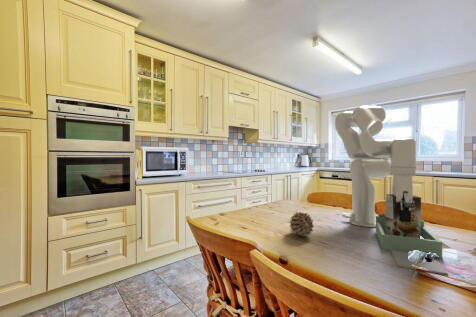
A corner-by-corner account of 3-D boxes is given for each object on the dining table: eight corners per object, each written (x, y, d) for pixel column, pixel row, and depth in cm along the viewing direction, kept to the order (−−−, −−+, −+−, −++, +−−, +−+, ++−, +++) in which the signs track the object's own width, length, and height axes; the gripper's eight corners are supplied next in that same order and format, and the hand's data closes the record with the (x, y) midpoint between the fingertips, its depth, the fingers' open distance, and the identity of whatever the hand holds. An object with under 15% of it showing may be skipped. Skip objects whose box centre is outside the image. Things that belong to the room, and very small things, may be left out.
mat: (397, 266, 64) (397, 264, 64) (391, 251, 75) (391, 249, 75) (448, 275, 59) (448, 273, 59) (433, 257, 70) (433, 256, 70)
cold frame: (381, 249, 77) (381, 225, 77) (375, 232, 95) (375, 213, 95) (442, 258, 70) (441, 231, 70) (423, 238, 88) (423, 217, 88)
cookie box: (393, 241, 80) (394, 196, 80) (384, 234, 87) (384, 193, 87) (421, 242, 79) (422, 197, 79) (410, 235, 86) (410, 194, 85)
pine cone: (318, 242, 83) (318, 216, 83) (292, 242, 84) (292, 215, 84) (305, 225, 105) (305, 204, 105) (284, 225, 106) (284, 204, 106)
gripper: (387, 170, 92) (386, 212, 92) (394, 173, 77) (394, 223, 77) (409, 170, 89) (409, 214, 89) (422, 173, 73) (421, 226, 73)
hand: (402, 218), depth 83 cm, fingers closed on cookie box, 7 cm apart
